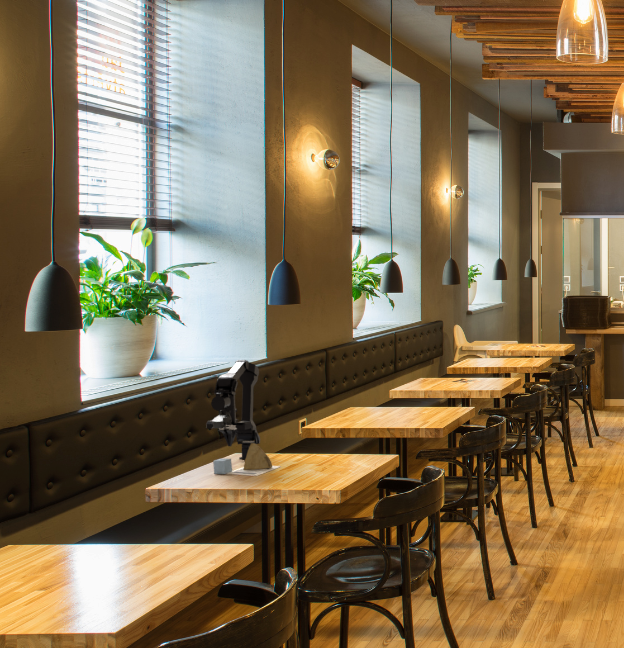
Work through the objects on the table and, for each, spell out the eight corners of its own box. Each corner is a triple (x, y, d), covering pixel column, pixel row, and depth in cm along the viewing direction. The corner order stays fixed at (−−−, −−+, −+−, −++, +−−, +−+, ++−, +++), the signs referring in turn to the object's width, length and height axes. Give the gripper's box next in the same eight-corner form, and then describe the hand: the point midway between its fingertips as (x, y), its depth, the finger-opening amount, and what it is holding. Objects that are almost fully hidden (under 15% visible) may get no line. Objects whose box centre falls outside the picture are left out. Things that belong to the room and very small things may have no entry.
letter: (251, 464, 328) (251, 464, 328) (280, 466, 321) (280, 466, 321) (225, 473, 312) (225, 473, 312) (256, 476, 305) (256, 475, 305)
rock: (278, 460, 321) (257, 455, 326) (272, 445, 316) (251, 441, 321) (265, 480, 314) (244, 475, 319) (259, 466, 309) (238, 461, 314)
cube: (221, 471, 318) (220, 458, 318) (232, 471, 315) (231, 458, 315) (214, 473, 313) (213, 460, 313) (224, 473, 311) (223, 461, 311)
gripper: (197, 409, 319) (198, 448, 320) (235, 410, 310) (237, 451, 310) (213, 405, 329) (215, 443, 329) (251, 406, 320) (253, 446, 320)
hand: (229, 446), depth 322 cm, fingers closed
